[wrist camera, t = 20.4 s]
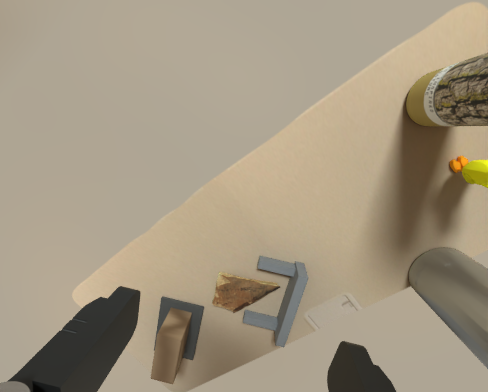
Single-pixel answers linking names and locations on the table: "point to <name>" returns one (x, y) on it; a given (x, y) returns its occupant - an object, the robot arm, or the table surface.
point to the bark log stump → (452, 95)
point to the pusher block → (170, 345)
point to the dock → (289, 301)
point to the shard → (239, 291)
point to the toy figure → (472, 170)
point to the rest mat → (194, 323)
